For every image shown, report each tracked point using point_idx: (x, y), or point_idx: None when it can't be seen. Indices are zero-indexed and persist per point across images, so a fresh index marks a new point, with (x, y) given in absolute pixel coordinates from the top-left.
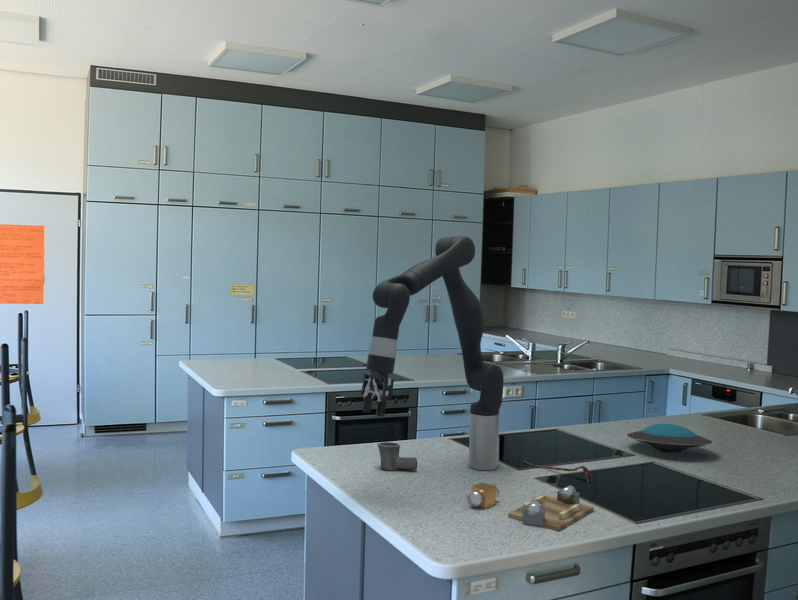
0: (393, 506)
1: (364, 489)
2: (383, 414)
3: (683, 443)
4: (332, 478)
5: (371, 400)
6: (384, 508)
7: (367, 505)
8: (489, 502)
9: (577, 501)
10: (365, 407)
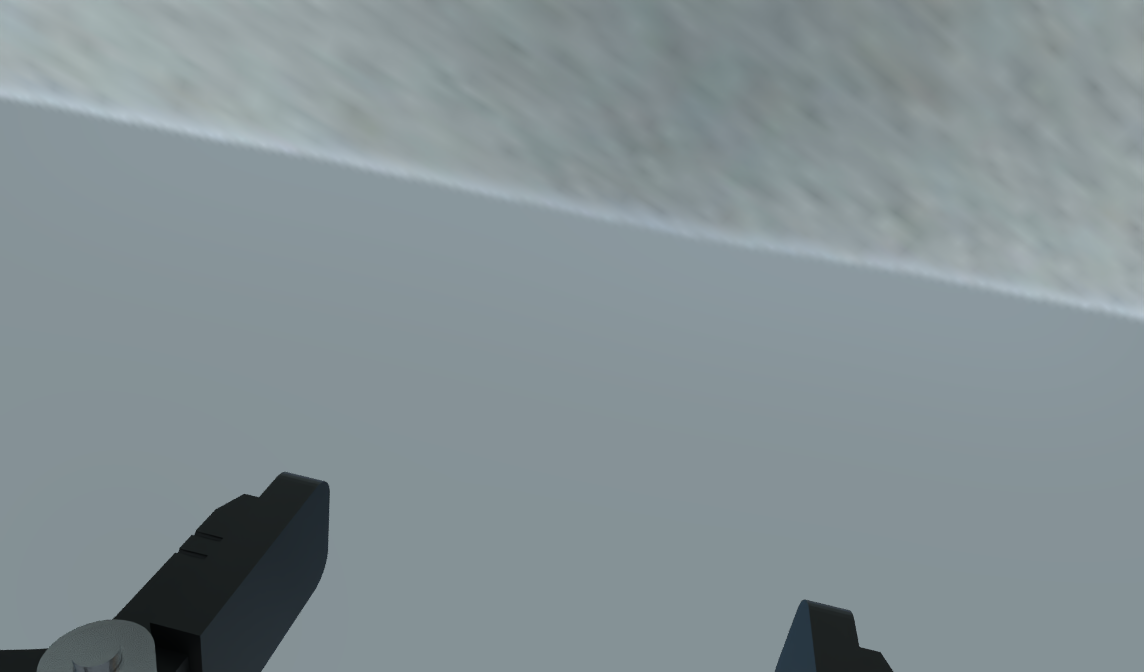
0: (894, 86)
1: (471, 43)
2: (880, 661)
3: None
4: (162, 96)
5: (218, 633)
6: (881, 159)
7: (762, 212)
8: None
9: None
10: (291, 601)
